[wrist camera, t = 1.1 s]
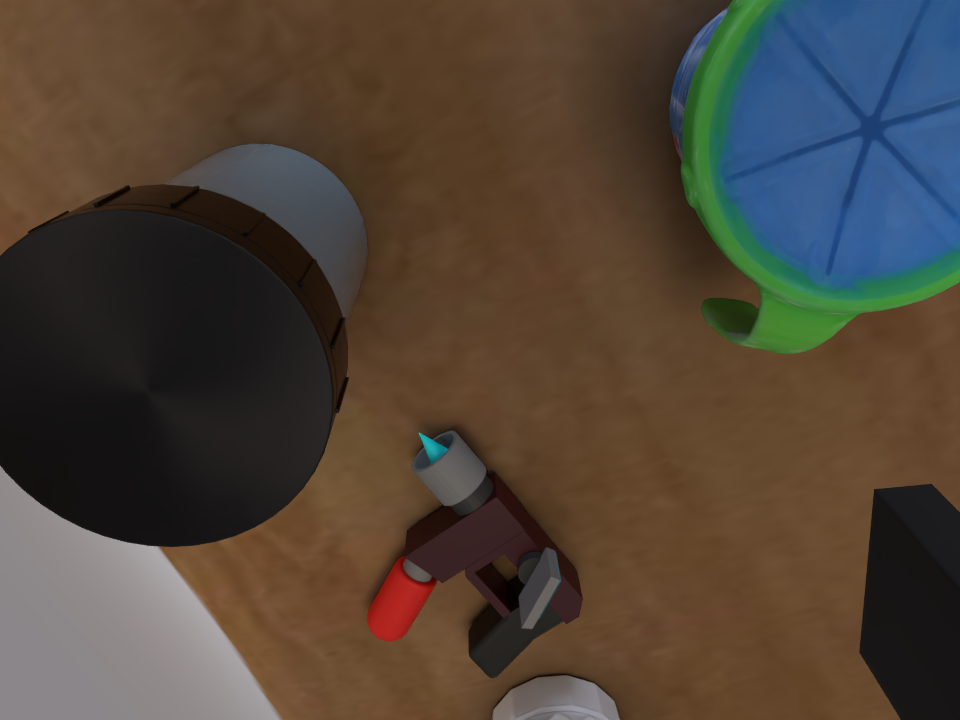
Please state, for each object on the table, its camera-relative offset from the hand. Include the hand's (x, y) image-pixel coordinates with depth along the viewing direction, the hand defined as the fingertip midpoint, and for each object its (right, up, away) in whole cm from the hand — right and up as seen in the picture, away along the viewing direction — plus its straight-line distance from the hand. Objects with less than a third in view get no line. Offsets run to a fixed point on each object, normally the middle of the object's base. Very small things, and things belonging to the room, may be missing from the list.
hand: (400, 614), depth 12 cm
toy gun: (-1, -5, +28) cm, 29 cm away
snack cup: (+12, +14, +21) cm, 28 cm away
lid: (-7, +3, +10) cm, 13 cm away
